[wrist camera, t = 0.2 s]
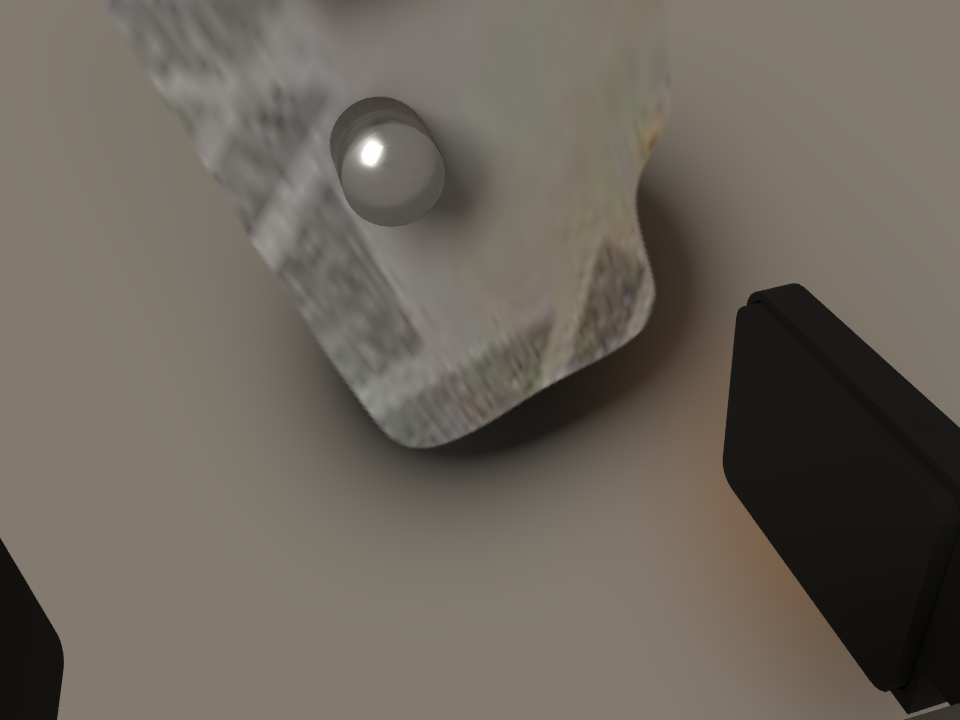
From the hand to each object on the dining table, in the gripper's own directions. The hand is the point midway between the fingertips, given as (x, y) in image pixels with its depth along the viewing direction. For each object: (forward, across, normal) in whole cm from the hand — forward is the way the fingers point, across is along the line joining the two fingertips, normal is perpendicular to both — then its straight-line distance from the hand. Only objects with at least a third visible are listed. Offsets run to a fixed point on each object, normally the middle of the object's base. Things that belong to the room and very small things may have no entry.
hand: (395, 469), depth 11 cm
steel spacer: (+31, -4, +8) cm, 32 cm away
